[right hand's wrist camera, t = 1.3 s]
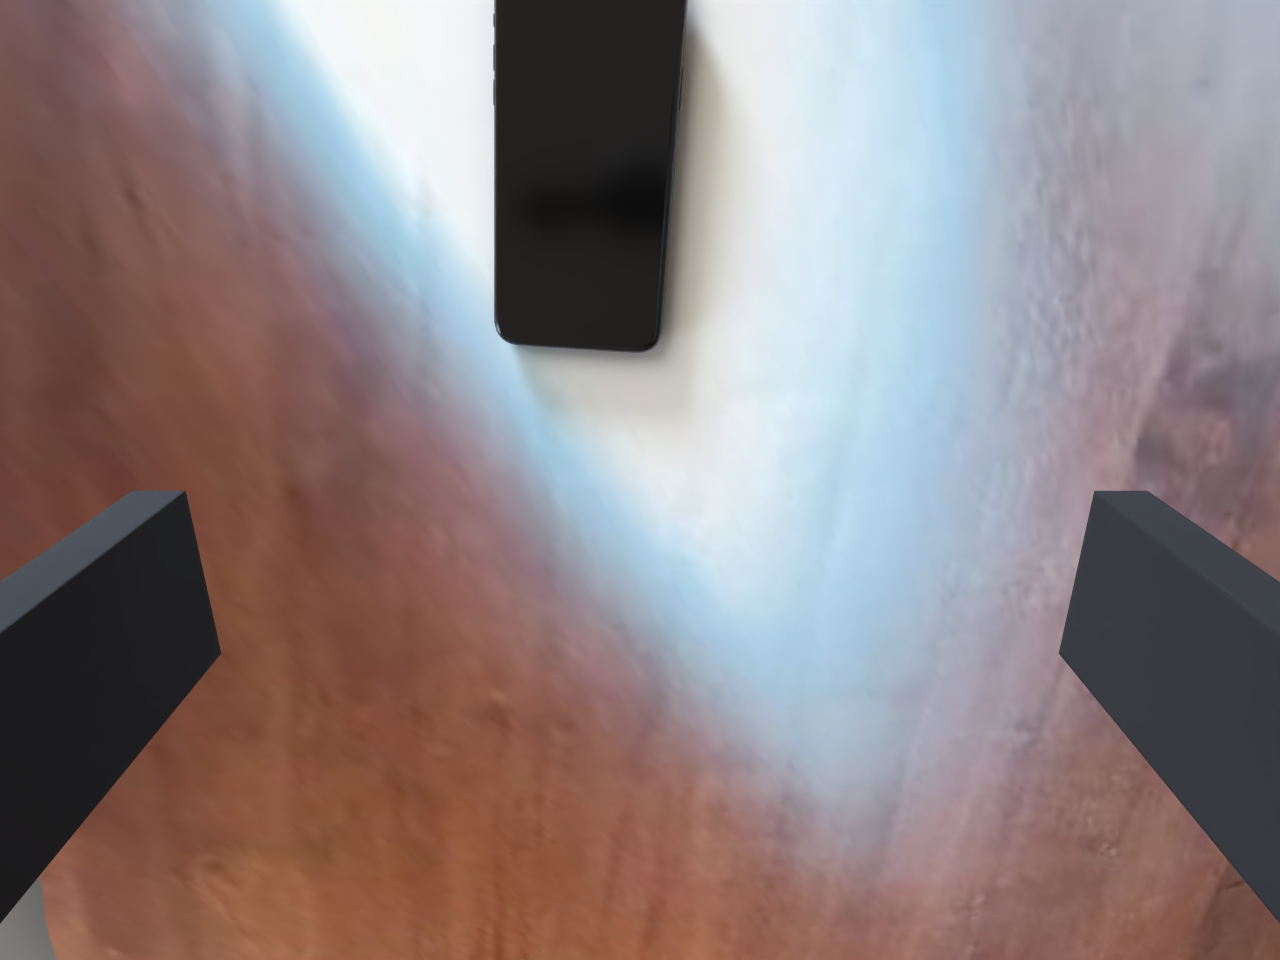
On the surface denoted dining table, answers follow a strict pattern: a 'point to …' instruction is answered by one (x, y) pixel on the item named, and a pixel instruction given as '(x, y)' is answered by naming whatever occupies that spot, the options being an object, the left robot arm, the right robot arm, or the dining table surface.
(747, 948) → the dining table surface
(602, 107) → the smartphone
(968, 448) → the dining table surface
